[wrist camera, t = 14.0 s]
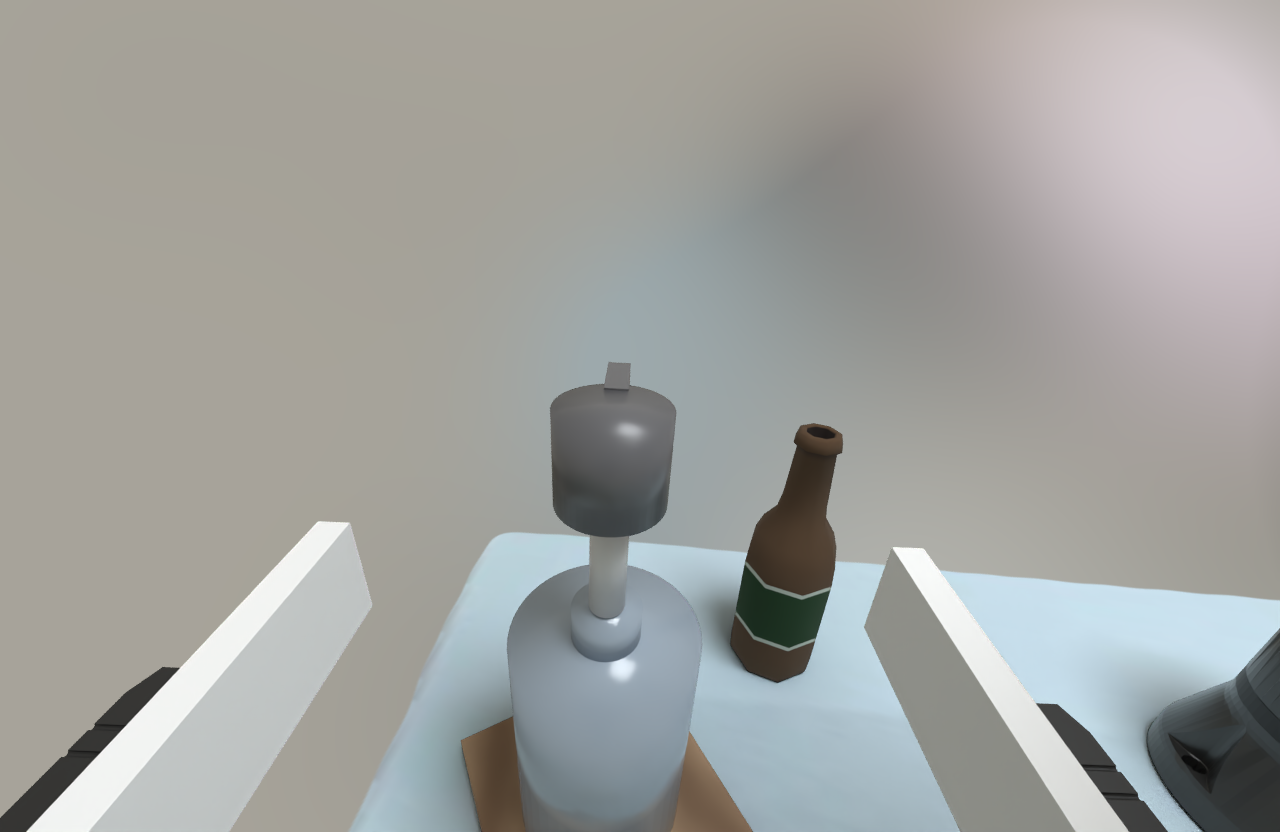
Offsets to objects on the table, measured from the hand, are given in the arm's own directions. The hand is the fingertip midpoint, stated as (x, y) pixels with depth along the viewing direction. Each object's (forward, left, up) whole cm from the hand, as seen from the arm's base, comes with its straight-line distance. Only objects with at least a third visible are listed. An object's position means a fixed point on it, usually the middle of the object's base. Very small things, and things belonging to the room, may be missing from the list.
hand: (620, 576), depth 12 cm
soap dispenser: (-5, -10, -31) cm, 32 cm away
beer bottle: (-25, -14, -32) cm, 43 cm away
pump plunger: (-5, -11, -12) cm, 17 cm away
